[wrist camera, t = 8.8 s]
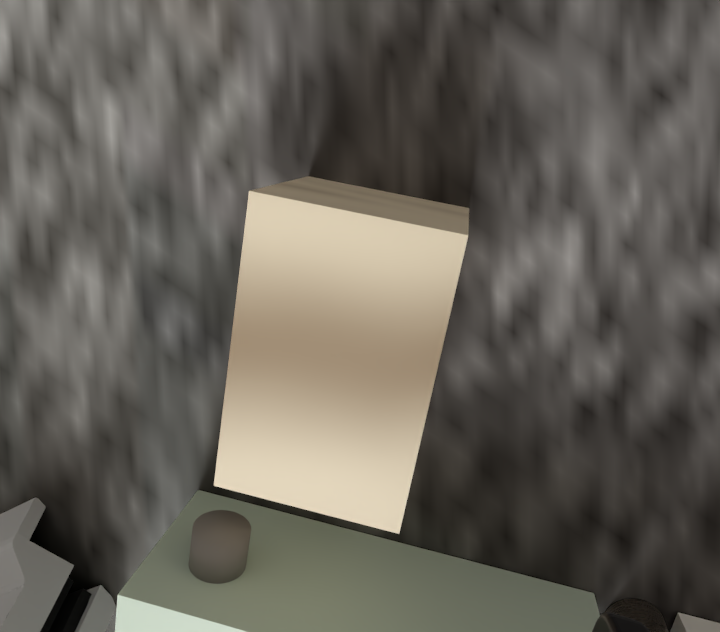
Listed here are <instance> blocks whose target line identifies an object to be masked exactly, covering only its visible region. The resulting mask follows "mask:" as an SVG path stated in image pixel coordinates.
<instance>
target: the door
mask: <svg viewBox="0 0 720 632" xmlns="http://www.w3.org/2000/svg"><path fill="white" fill-rule="evenodd" d="M599 617H600V614H599V610H598V606H597V603H596V599H595V595H594V593H591V592H587V591H584V590H580V589H576V588H572V587H568V586H564V585H561V584H557V583H553V582H549V581H545V580H541V579H538V578H534V577H530V576H526V575H522V574H518V573H515V572H511V571H507V570H503V569H499V568H496V567H492V566H488V565H484V564H480V563H476V562H473V561H469V560H465V559H461V558H457V557H453V556H450V555H446V554H442V553H438V552H434V551H430V550H427V549H423V548H419V547H415V546H411V545H407V544H404V543H400V542H396V541H392V540H388V539H385V538H381V537H377V536H373V535H369V534H365V533H362V532H358V531H354V530H350V529H346V528H342V527H339V526H335V525H331V524H327V523H323V522H319V521H316V520H312V519H308V518H304V517H300V516H296V515H293V514H289V513H285V512H281V511H277V510H274V509H270V508H266V507H262V506H258V505H254V504H251V503H247V502H243V501H239V500H235V499H231V498H228V497H224V496H220V495H216V494H212V493H208V492H205V491H201V490H198V491H197V492H196V493H195V495H194V496H193V497H192V499H191V500H190V501H189V503H188V504H187V505H186V506H185V508H184V509H183V510H182V512H181V513H180V514H179V516H178V517H177V518H176V519H175V521H174V522H173V523H172V525H171V526H170V527H169V529H168V530H167V531H166V532H165V534H164V535H163V536H162V538H161V539H160V540H159V542H158V543H157V544H156V545H155V547H154V548H153V549H152V551H151V552H150V553H149V555H148V556H147V557H146V558H145V560H144V561H143V562H142V564H141V565H140V566H139V567H138V569H137V570H136V571H135V573H134V574H133V575H132V577H131V578H130V579H129V580H128V582H127V583H126V584H125V586H124V587H123V588H122V590H121V591H120V592H119V593H118V596H117V610H116V624H115V632H592V630H593V628H594V626H595V623H596V621H597V619H598V618H599Z"/></svg>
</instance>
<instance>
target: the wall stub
mask: <svg viewBox="0 0 720 632" xmlns="http://www.w3.org/2000/svg"><path fill="white" fill-rule="evenodd" d="M670 632H720V623H717V622H713V621H709V620H706V619H702V618H698V617H694V616H690V615H686V614H683V613H679V612H678V613H677V616H676V618H675V620H674V623H673V625H672V628H671V630H670Z"/></svg>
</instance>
